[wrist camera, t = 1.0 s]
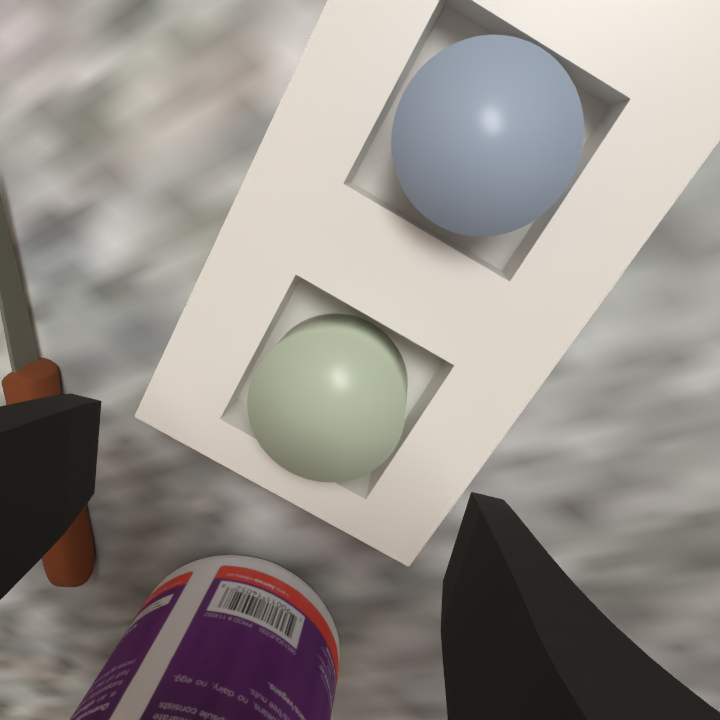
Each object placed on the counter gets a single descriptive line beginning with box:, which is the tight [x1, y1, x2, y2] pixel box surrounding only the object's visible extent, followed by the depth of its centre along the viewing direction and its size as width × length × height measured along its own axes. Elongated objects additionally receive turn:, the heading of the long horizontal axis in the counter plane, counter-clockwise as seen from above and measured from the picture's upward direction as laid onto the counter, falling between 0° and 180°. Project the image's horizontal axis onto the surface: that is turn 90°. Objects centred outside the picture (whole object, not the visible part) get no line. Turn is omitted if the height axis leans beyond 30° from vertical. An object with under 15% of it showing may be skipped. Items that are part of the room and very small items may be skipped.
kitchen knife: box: [0, 195, 94, 587], centre depth 21 cm, size 16×1×2 cm, turn 2°
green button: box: [247, 313, 408, 483], centre depth 17 cm, size 4×4×2 cm
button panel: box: [134, 0, 720, 567], centre depth 16 cm, size 10×24×3 cm, turn 151°
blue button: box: [391, 35, 584, 237], centre depth 15 cm, size 4×4×2 cm
